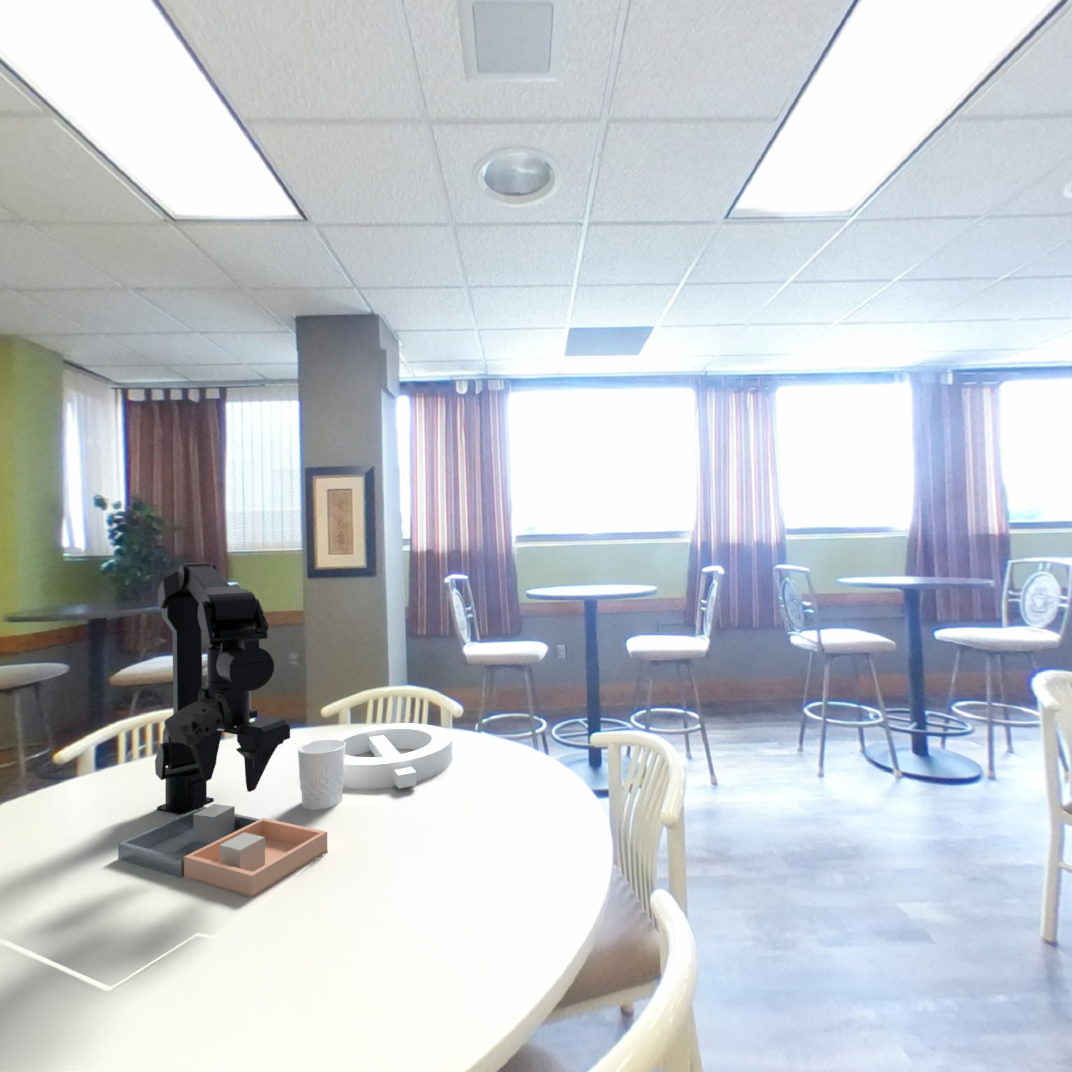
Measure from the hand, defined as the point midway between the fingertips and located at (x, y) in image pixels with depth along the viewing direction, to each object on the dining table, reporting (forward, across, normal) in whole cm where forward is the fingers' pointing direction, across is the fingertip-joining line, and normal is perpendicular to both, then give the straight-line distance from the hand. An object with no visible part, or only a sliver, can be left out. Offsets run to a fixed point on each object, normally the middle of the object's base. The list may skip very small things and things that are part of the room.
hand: (228, 785), depth 87 cm
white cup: (+11, -1, +20) cm, 22 cm away
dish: (+10, +6, 0) cm, 12 cm away
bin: (+10, -7, 0) cm, 13 cm away
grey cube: (+10, -7, +3) cm, 13 cm away
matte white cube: (+10, +6, -3) cm, 12 cm away
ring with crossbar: (+12, -4, +41) cm, 43 cm away
